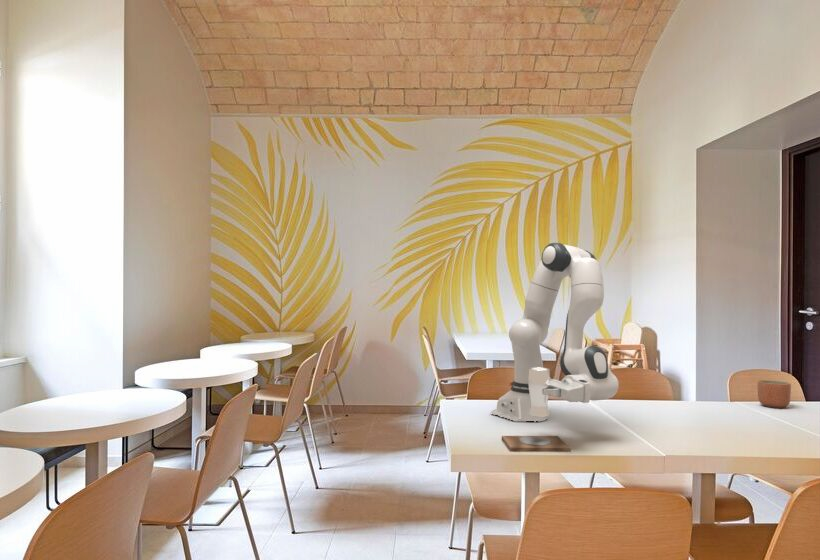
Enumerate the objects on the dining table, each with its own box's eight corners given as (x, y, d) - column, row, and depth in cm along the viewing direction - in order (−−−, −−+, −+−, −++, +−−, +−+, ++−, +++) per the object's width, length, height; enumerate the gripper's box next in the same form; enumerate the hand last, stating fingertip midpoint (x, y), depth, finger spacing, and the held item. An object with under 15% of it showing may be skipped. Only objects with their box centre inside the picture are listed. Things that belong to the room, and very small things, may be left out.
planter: (797, 410, 242) (797, 384, 242) (768, 409, 242) (768, 384, 242) (779, 404, 254) (779, 379, 254) (751, 403, 254) (751, 379, 254)
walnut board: (510, 451, 174) (510, 446, 174) (501, 439, 188) (501, 434, 188) (570, 451, 175) (570, 446, 175) (557, 439, 189) (557, 435, 189)
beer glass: (525, 412, 185) (525, 367, 185) (545, 412, 186) (546, 367, 186) (531, 417, 178) (532, 370, 178) (553, 417, 179) (553, 370, 179)
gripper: (555, 374, 196) (520, 375, 192) (592, 383, 177) (554, 385, 172) (555, 392, 196) (520, 394, 191) (592, 403, 177) (554, 406, 172)
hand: (536, 390), depth 182 cm, fingers closed on beer glass, 6 cm apart
